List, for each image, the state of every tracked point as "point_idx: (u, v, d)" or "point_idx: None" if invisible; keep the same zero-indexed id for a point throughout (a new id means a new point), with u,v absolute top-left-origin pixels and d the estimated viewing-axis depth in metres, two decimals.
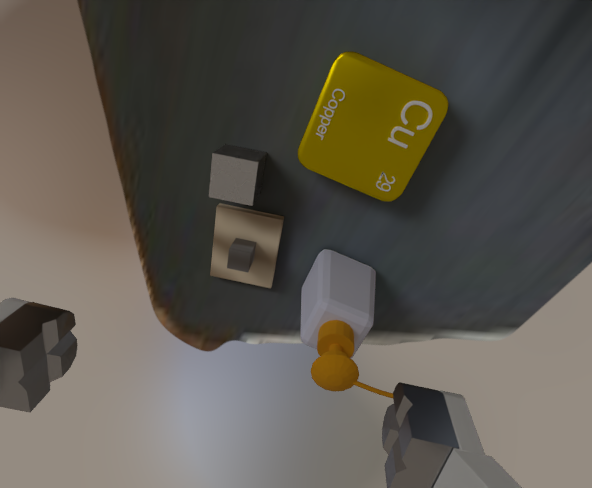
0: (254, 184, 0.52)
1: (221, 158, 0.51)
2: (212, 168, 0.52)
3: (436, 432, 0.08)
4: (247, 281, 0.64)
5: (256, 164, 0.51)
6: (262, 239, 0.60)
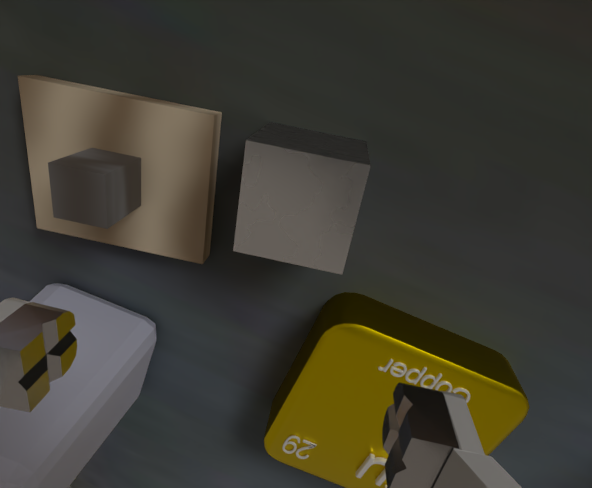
0: (287, 260, 0.21)
1: (355, 187, 0.19)
2: (326, 161, 0.19)
3: (436, 432, 0.08)
4: (35, 175, 0.26)
5: (337, 270, 0.21)
6: (150, 219, 0.26)
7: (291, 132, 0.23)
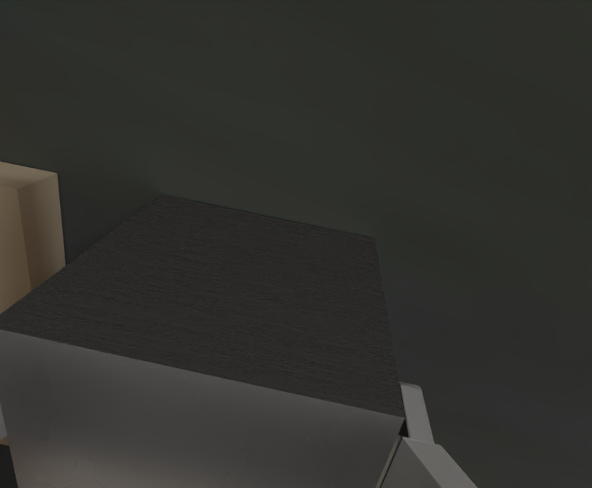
0: None
1: (354, 467, 0.06)
2: (256, 396, 0.06)
3: None
4: None
5: None
6: None
7: (196, 233, 0.09)
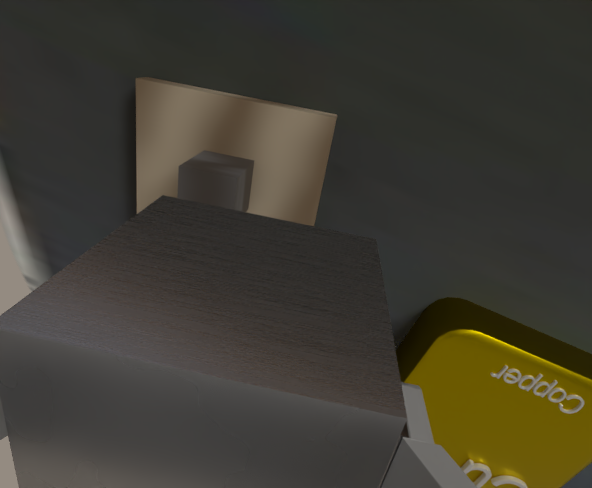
0: None
1: (355, 468, 0.06)
2: (258, 398, 0.06)
3: None
4: (141, 178, 0.26)
5: None
6: None
7: (197, 233, 0.09)
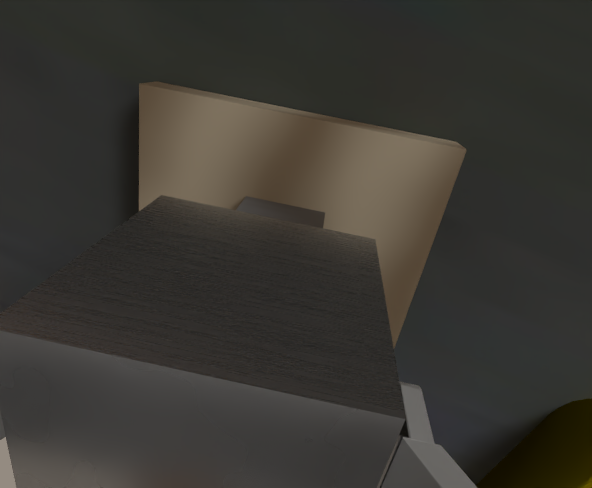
0: None
1: (353, 468, 0.06)
2: (255, 398, 0.06)
3: None
4: None
5: None
6: None
7: (196, 233, 0.09)
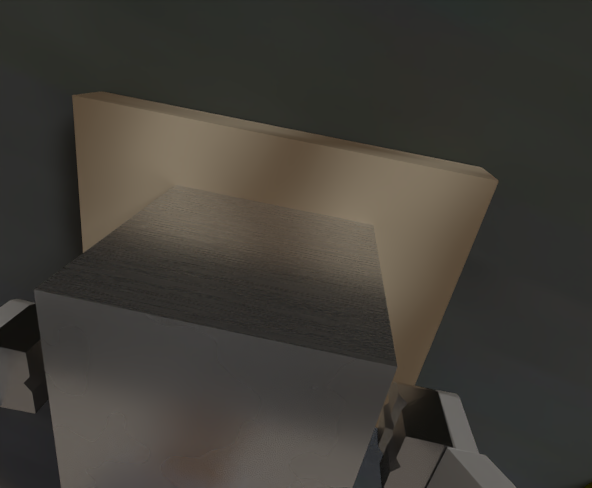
0: None
1: (352, 413, 0.07)
2: (268, 350, 0.06)
3: (430, 431, 0.08)
4: None
5: None
6: None
7: (209, 217, 0.10)
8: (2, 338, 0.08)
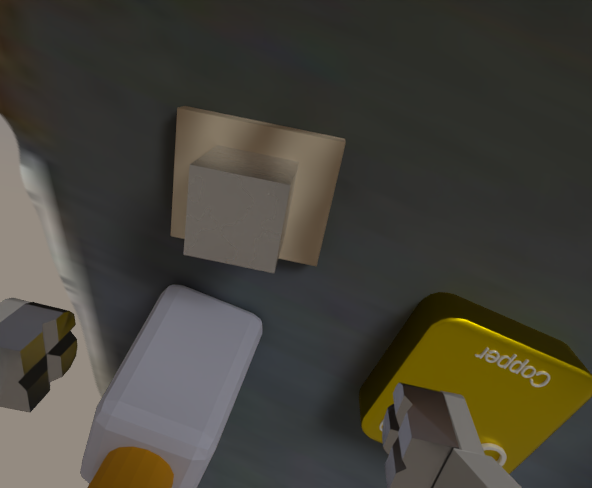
0: (229, 262, 0.26)
1: (279, 202, 0.24)
2: (255, 181, 0.23)
3: (436, 432, 0.08)
4: (177, 191, 0.30)
5: (269, 269, 0.26)
6: None
7: (233, 155, 0.27)
8: None
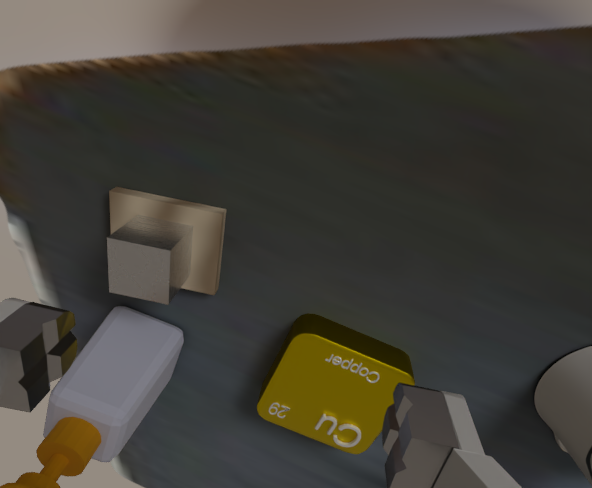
0: (138, 297, 0.39)
1: (165, 261, 0.37)
2: (148, 248, 0.36)
3: (436, 432, 0.08)
4: None
5: (165, 302, 0.39)
6: None
7: (144, 224, 0.40)
8: None
